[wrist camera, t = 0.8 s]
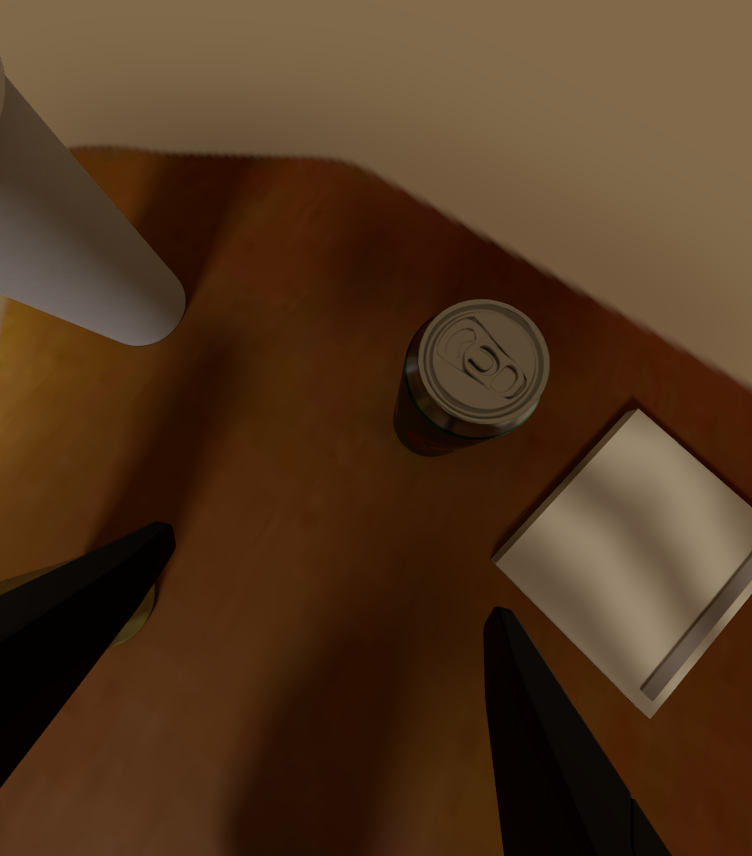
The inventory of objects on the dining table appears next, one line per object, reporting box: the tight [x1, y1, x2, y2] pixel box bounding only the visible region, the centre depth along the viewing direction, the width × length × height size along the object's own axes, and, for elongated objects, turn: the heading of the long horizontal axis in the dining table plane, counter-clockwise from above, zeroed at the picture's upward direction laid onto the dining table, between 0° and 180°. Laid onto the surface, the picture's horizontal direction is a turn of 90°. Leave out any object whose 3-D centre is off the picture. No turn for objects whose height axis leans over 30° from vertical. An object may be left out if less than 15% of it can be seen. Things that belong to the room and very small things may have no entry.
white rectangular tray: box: [491, 409, 752, 719], centre depth 20 cm, size 14×12×1 cm
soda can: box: [393, 299, 550, 457], centre depth 16 cm, size 5×5×12 cm
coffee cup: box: [0, 59, 186, 346], centre depth 16 cm, size 10×10×15 cm
